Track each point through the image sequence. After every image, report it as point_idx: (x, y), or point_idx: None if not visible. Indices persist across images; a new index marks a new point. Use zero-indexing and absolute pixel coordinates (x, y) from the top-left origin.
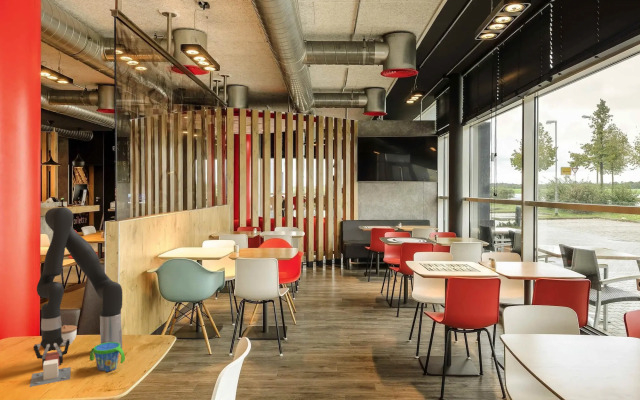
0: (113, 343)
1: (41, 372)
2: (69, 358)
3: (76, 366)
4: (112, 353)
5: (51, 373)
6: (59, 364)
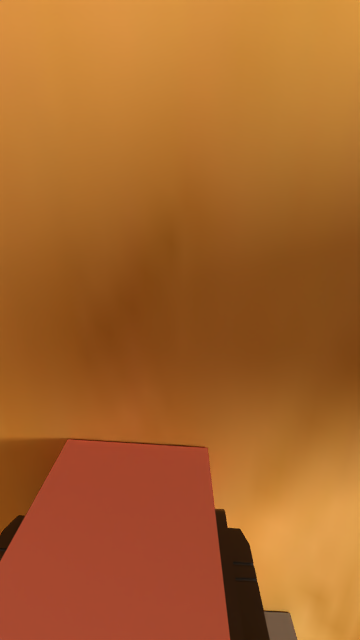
0: None
1: None
2: (347, 289)
3: (348, 576)
4: None
5: None
6: None
